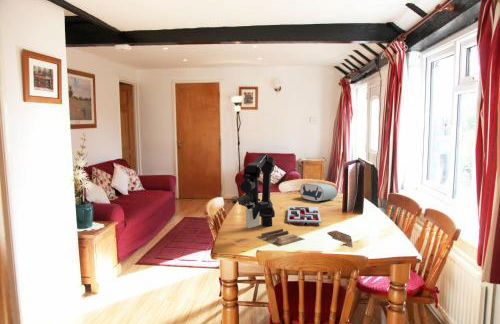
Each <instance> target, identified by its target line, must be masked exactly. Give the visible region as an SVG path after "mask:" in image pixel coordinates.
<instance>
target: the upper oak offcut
mask: <svg viewBox="0 0 500 324" xmlns="http://www.w3.org/2000/svg"><path fill="white" fill-rule="evenodd" d="M294 238H297V234H294V233H290V234H288V235H284V236H280V237H277V240H279V241H281V242H283V241H287V240H291V239H294Z"/></svg>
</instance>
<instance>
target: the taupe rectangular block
mask: <svg viewBox="0 0 500 324" xmlns="http://www.w3.org/2000/svg"><path fill="white" fill-rule="evenodd" d="M259 226H260V217H259V213H258V215H257V217H256V219H253V211H252V209H245V227H246V228H248V229H250V228H255V227H259Z"/></svg>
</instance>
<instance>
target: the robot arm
mask: <svg viewBox="0 0 500 324" xmlns="http://www.w3.org/2000/svg"><path fill="white" fill-rule="evenodd" d="M275 166H276V160H275V159H274V157H272V156H270V155H269V154H267V153H260V154H258V156H257V157H256V159H255V160H254V161H253V162H250V163H247V164H246V166H245V167H244V169H243V170H244V171H243V175H242V179H243V180H244V181H242V182H241V184H240V186H239V187H240V190H241V191H242V192H243V193H244V194H243V195H240V196H239V197H238V198H237V203H238V205H240V206H242V207H245V208H246V210H248V209H252V211H253V219H256V217H257V215H258V213H259V218H260V220H261V221H260V226H262V227H267V228H270V227H273V218H275V217H276V216H275V214H276V213H275V209H274V207H273V203H272V201H271V187H272V183H271V182H272V174H273V172H274V170H275ZM261 174H262V185H261V186H262V188H261V190H259V179H260V177H261ZM261 191H262V192H261ZM260 193H261V198H259V194H260Z"/></svg>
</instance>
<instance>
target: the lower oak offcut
mask: <svg viewBox="0 0 500 324" xmlns="http://www.w3.org/2000/svg"><path fill="white" fill-rule="evenodd" d="M297 240H300V236H298V237H297V238H294V239H291V240H287V241H283V242H281V241H279V240H277V239H276V240H275V242H276V243H279V244H281V245H283V244H286V243H290V242H293V241H297ZM297 242H298V241H297ZM290 244H291V243H290ZM283 246H284V245H283Z"/></svg>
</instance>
